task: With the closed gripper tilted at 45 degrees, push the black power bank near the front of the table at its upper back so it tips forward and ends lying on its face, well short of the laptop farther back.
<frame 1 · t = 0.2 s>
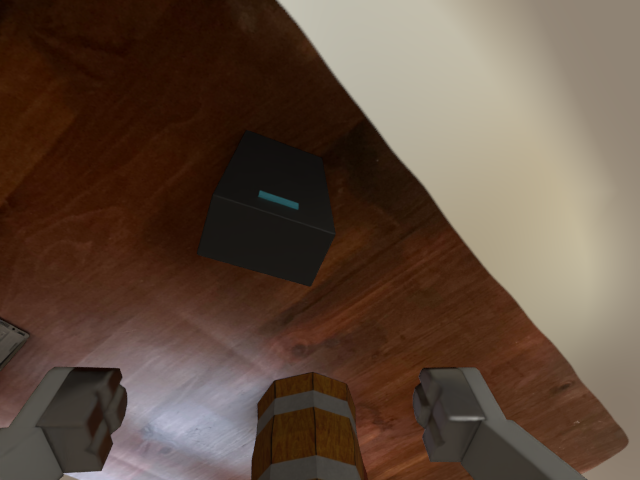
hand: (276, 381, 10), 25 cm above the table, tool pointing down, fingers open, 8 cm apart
black power bank: (278, 164, 33), on the table
mug: (320, 414, 51), on the table
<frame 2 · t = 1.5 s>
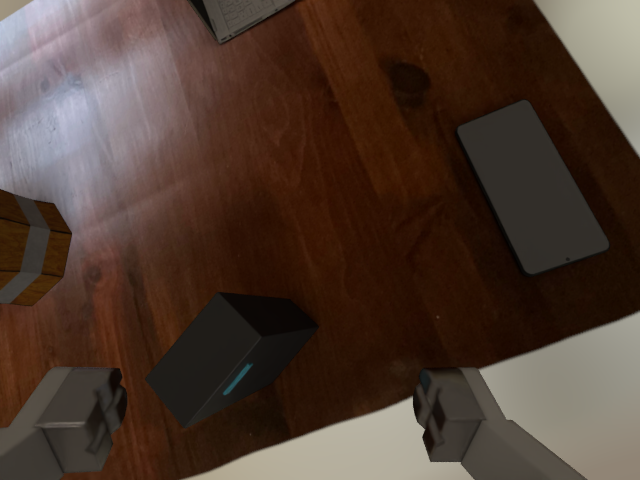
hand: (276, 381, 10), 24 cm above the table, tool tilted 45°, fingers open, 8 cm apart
smartphone: (523, 187, 32), on the table
black power bank: (280, 340, 35), on the table
mug: (8, 261, 45), on the table
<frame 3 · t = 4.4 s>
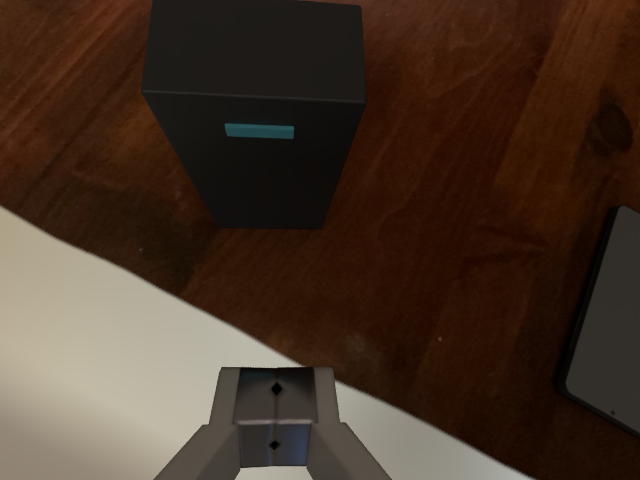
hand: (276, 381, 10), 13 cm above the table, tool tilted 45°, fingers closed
smartphone: (624, 313, 26), on the table
black power bank: (270, 201, 25), on the table
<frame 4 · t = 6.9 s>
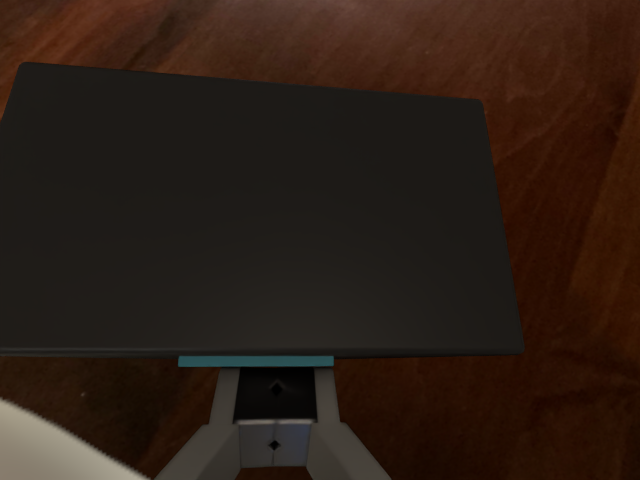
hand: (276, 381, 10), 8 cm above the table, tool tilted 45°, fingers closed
black power bank: (271, 316, 18), on the table, touching gripper
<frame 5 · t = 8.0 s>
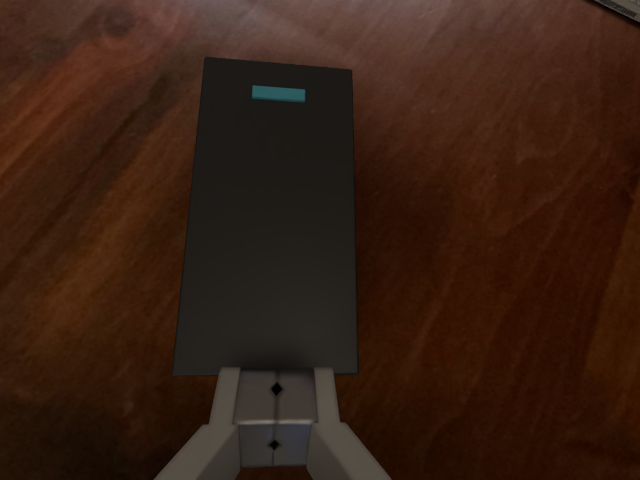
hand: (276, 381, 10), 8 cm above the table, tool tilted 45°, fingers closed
black power bank: (268, 370, 16), point 2 cm above the table, tilted 90°
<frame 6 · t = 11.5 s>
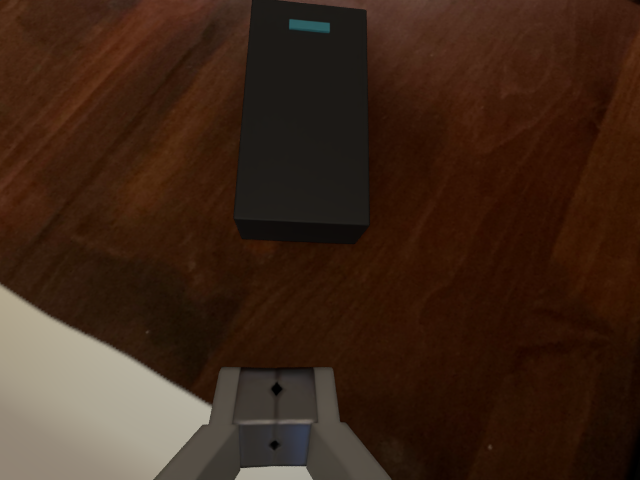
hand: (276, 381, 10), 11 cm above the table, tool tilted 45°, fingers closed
black power bank: (300, 233, 20), point 2 cm above the table, tilted 90°
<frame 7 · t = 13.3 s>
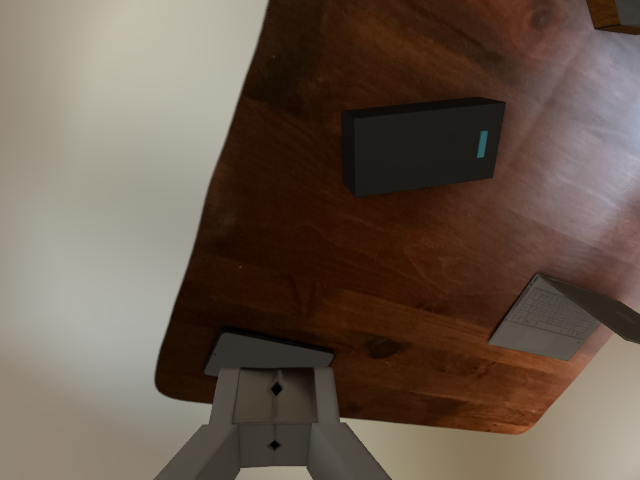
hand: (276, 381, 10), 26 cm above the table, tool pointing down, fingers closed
laptop: (550, 318, 54), on the table
smartphone: (270, 357, 45), on the table
black power bank: (348, 154, 33), point 2 cm above the table, tilted 90°
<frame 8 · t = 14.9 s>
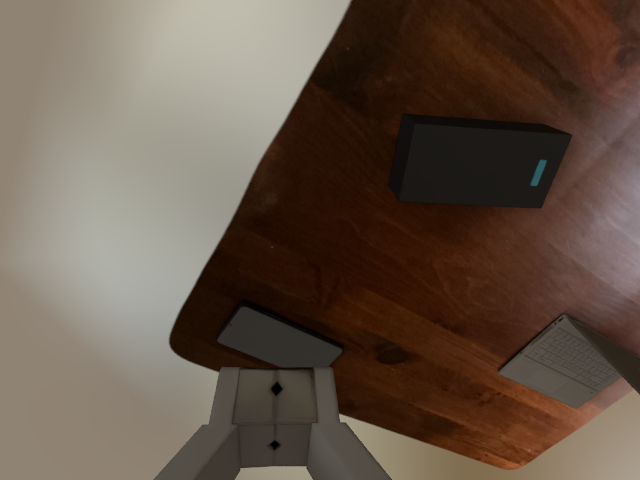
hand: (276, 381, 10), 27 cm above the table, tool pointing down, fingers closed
laptop: (567, 361, 53), on the table
smartphone: (281, 339, 46), on the table
black power bank: (400, 157, 33), point 2 cm above the table, tilted 90°
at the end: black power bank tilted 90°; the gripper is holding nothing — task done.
